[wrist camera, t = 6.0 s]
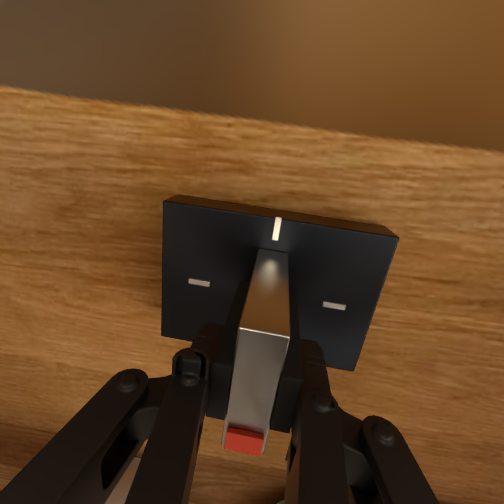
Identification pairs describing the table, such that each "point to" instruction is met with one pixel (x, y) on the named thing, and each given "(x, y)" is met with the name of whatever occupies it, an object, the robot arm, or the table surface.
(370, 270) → the control panel
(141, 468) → the robot arm
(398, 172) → the table surface
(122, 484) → the bowl
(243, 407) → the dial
